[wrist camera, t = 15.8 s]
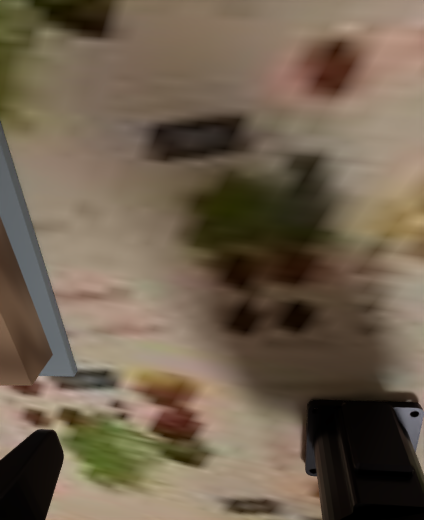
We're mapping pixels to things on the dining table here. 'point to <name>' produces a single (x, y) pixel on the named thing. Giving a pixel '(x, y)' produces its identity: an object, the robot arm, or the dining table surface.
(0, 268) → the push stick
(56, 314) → the grey flat bar
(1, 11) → the dining table surface
